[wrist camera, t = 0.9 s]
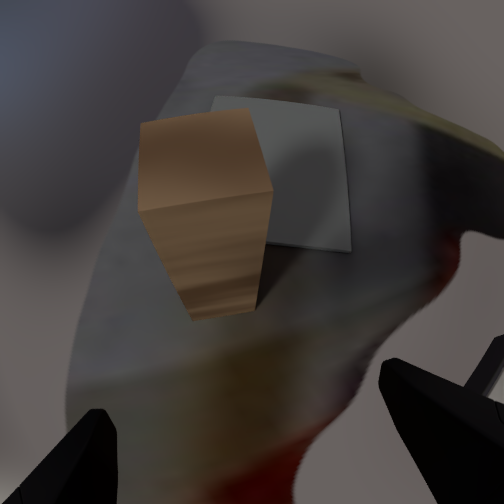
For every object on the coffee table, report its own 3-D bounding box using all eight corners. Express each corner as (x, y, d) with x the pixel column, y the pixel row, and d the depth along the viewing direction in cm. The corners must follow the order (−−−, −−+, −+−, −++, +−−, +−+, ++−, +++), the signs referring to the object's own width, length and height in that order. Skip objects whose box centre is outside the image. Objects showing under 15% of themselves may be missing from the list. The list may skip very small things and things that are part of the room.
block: (254, 310, 23) (273, 190, 11) (192, 320, 23) (138, 211, 10) (243, 255, 25) (248, 107, 13) (185, 264, 24) (140, 123, 12)
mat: (349, 253, 25) (351, 251, 25) (177, 234, 26) (176, 231, 25) (338, 112, 33) (338, 109, 33) (215, 98, 34) (215, 95, 33)
